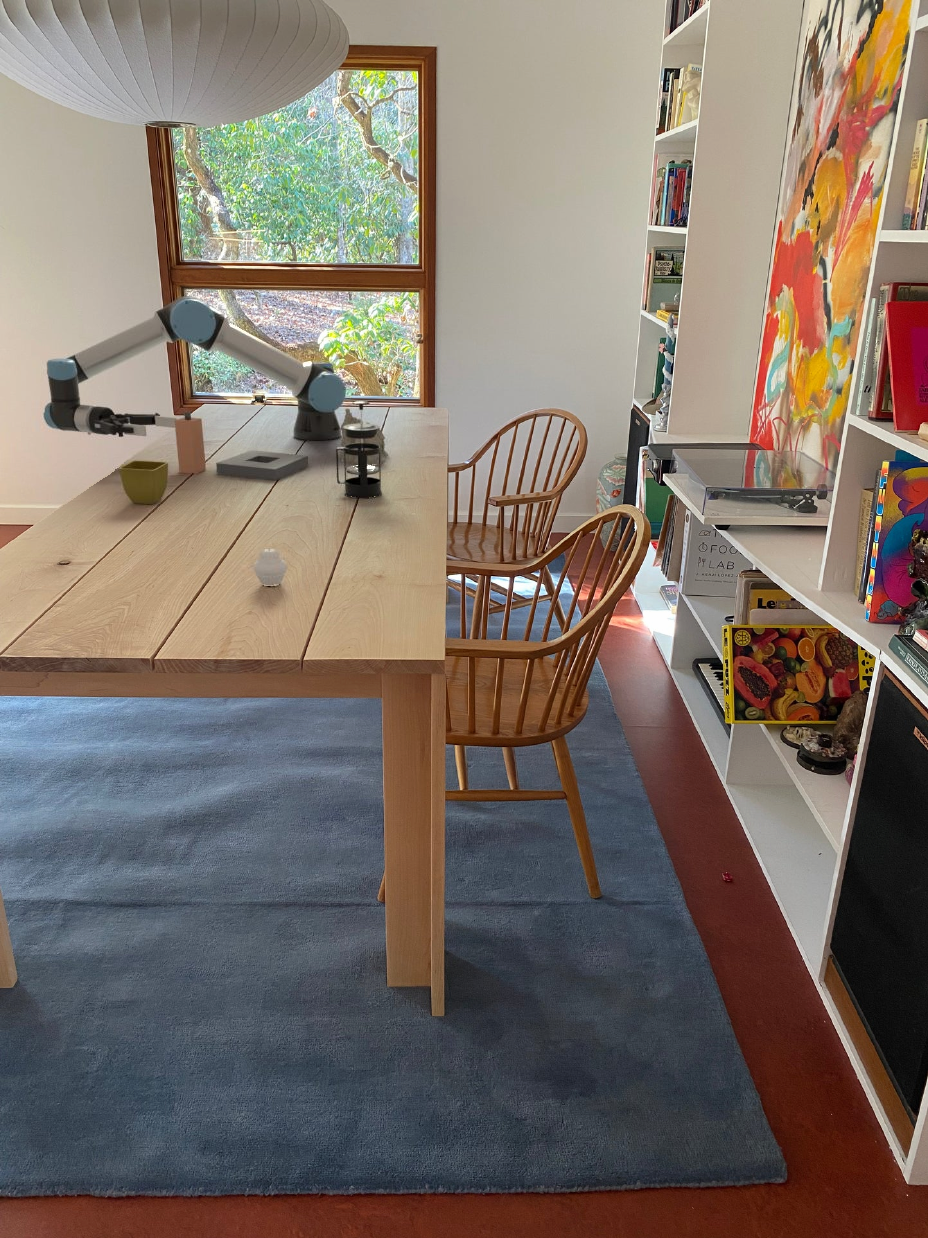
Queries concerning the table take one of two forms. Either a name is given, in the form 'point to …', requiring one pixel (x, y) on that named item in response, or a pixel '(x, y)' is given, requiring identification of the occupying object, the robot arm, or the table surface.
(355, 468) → the french press
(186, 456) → the plug
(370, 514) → the table surface
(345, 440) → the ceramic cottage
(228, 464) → the socket
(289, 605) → the table surface
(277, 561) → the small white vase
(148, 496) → the flower pot
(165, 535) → the table surface
